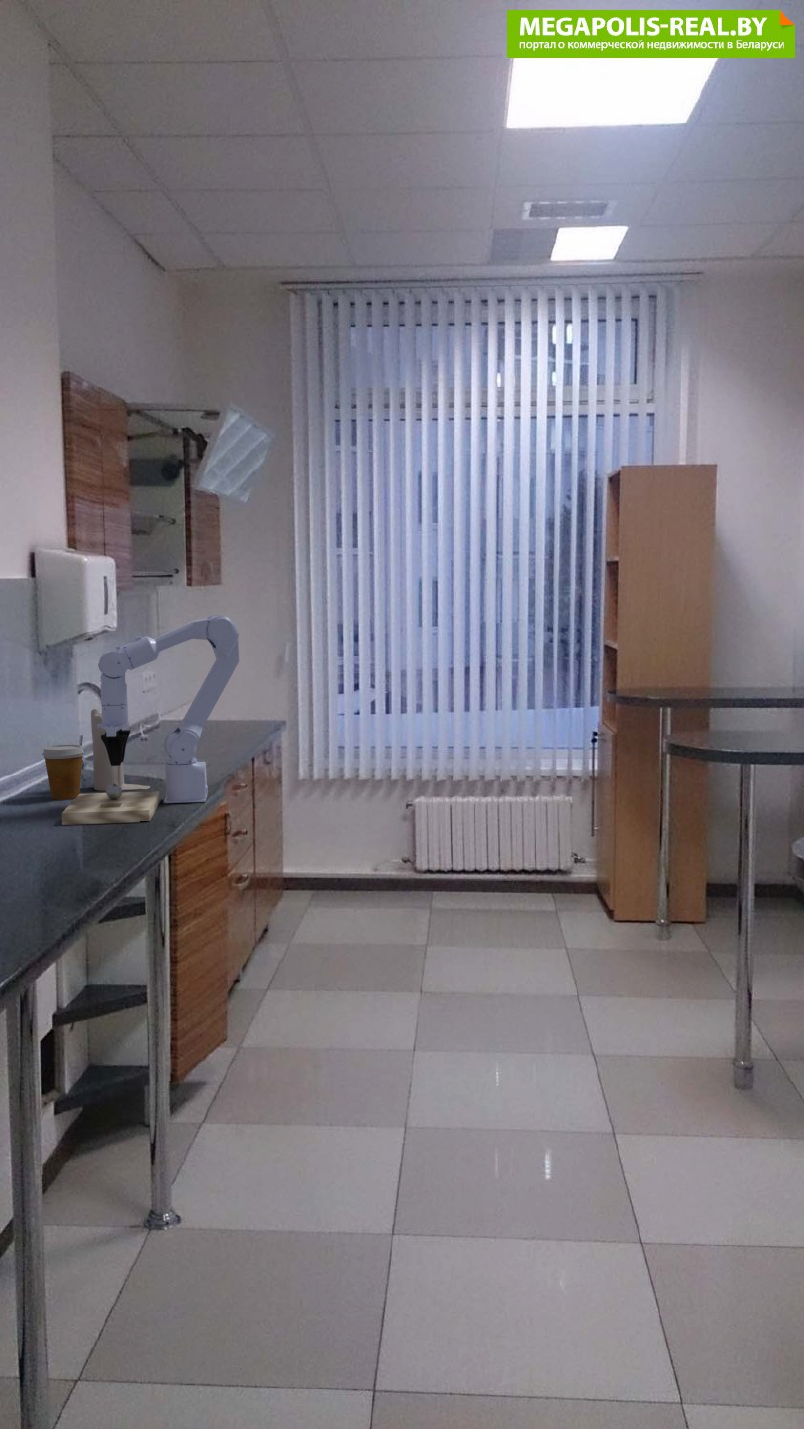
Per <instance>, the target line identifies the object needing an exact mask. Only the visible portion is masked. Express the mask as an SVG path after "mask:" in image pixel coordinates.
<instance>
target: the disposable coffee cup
mask: <svg viewBox="0 0 804 1429" xmlns="http://www.w3.org/2000/svg"><path fill="white" fill-rule="evenodd" d="M84 753H85V750H84V749H83V745H80V744H57V745H55V744H54V745H50V746H45V747H44V748H43V752H42V753H41V755H42V756H43V758H44V760H45V761H44V762H45V769H46V772H47V779H48V784H49V790H50V795H51V799H53V800H57V801H63V800H66V801H67V800H74V799H75V798H76V797H77V796H78V795H79V794H81V793H80V792H81V777H82V767H83V756H84Z"/></svg>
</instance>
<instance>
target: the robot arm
mask: <svg viewBox="0 0 804 1429" xmlns="http://www.w3.org/2000/svg"><path fill="white" fill-rule="evenodd" d="M239 636H240V633H239V631H238V629H237V627H236V624H235V622H234V621H233V620H232V619H231V618H230V617H228V616H226V615H219V614H212V615H210V616H208V617H205V618H200V619H195V620H193V621H190V622H188V623H185V624H183V625H181V626H179V627H176V628H175V629H172V630H170V631H167V633H164V634H162V635H160V636H157V637H156V638H152V637H149V636H146V635H145V636H143V637H142V635H139V636H138V635H137V636H135V637H134V639H135V640H134V641H130V642H129V643H127V644H125V645H116V646H115V650H109V651H106V652H104V653H102V655H101V656H100V658H99V661H98V663H97V667H98V669H99V672H101V673H100V683H101V684H100V702H101V703H100V704H101V713H102V724H97V728H103V729H105V730H106V733H105V735H101V739H102V741H103V743H104V745H105V747H106V750H107V753H108V757H109V761H110V764H111V766H120V765H121V763H123V764H124V762H125V756H126V755H125V754H126V748H127V743H128V740H129V737H130V734H131V730H130V729H127V728H129V727H130V722H129V714H128V713H129V710H128V708H129V707H128V706H129V705H128V690H127V689H128V688H127V687H128V686H127V683H126V672H127V670H130V671H132V670H135V669H138V668H140V667H142V666H144V665H146V664H148V663H151V662H153V661H155V660H157V659H158V657H159V654H160V653H161V652H162V651H164V650H166V649H170V648H172V647H175V646H178V645H180V644H182V643H186V642H187V641H190V640H204V641H208V642H209V644H210V645H211V647H212V651H213V653H214V656H215V660H214V663H213V665H211V666H212V667H211V668H210V669H209V672H208V674H207V675H206V677H205V679H204V680H203V683H202V684H201V685H200V688H199V690H198V691H197V693H196V695H195V697H194V698H193V701H192V702H191V704H190V706H189V708H188V709H187V712H186V713H185V715H184V717H183V719H182V720H181V721H180V722H179V723H178V724H177V726H176V727H175V729H174V730H172V732H170V733H169V734H168V735H167V736H166V738H165V740H164V744H163V746H164V750H165V751H166V753H167V754H168V756H167V758H166V759H165V760H164V765H165V766H164V767H165V768H164V769H165V770H164V771H165V792H166V794H165V795H166V796H165V798H164V799H163V804H175V803H176V804H178V803H179V804H180V803H181V804H182V803H204V802H205V803H206V801H207V798H208V793H209V789H208V788H209V786H208V784H207V782H208V780H207V764H206V763H207V762H205V761H198V759H197V757H196V754H197V751H198V748H197V746H198V742H199V741H200V739H201V735H202V731H203V729H204V727H205V724H206V723H207V721H208V719H209V718H210V715H212V711H213V710H214V708H215V706H216V705H217V702H218V701H219V699H220V697H221V695H222V693H223V692H224V690H225V688H226V687H227V684H228V683H229V681H230V679H231V677H232V675H233V674H234V672H235V670H236V668H237V667H238V665H239V662H240V649H239Z"/></svg>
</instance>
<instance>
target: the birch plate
mask: <svg viewBox="0 0 804 1429" xmlns="http://www.w3.org/2000/svg"><path fill="white" fill-rule="evenodd" d="M160 803H161V792H160V790H155V791H154V790H153V791H151V790H150V791H149V790H148V791H126V792H125V791H122V795H121V797H120V798H118V799H115V800H113V799H110V798H109V797H108V796H107V794H106V792H95V793H94V792H93V793H91V792H90V793H80V794H79V795H78V796H77V797H76V798H74V799H72V801H71V802H70V804H68V806H67V807H66V808H65V809H64V810H63V811H62V812H61V824H62V825H63V826H65V825H66V826H67V825H69V826H71V825H73V826H74V825H96V824H121V823H122V824H123V823H141V822H140V821H150V822H151V821H152V818H153V816H154V814H155V813H156V811H157V809H158V806H159V805H160Z"/></svg>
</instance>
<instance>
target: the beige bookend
mask: <svg viewBox="0 0 804 1429" xmlns="http://www.w3.org/2000/svg"><path fill="white" fill-rule="evenodd" d="M90 722H91V723H90V728H91V739H92V758H93V760H92V762H93V764H92V765H93V766H92V769H93V770H92V771H93V785H94V786H93V788H94V790H95V791H100V792H101V791H105V792H106V789H107V787H108V786H109V785H111V784H118V785H119V786H120V787H121V788H122V791H136V790H137V791H139V790H149V789H150V788H151V786H150V785H142V784H134V783H133V784H132V783H125V776H124V775H125V774H124V773H125V770H124V762H123V763H121V765H120V766H111V764H110V761H109V757H108V753H107V750H106V747H105V745H104V743H103V741H102V739H101V735H105V733H106V730H105V729H103V728H97V724H102V712H100V711H99V709H98V708H93V709H91V711H90Z"/></svg>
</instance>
